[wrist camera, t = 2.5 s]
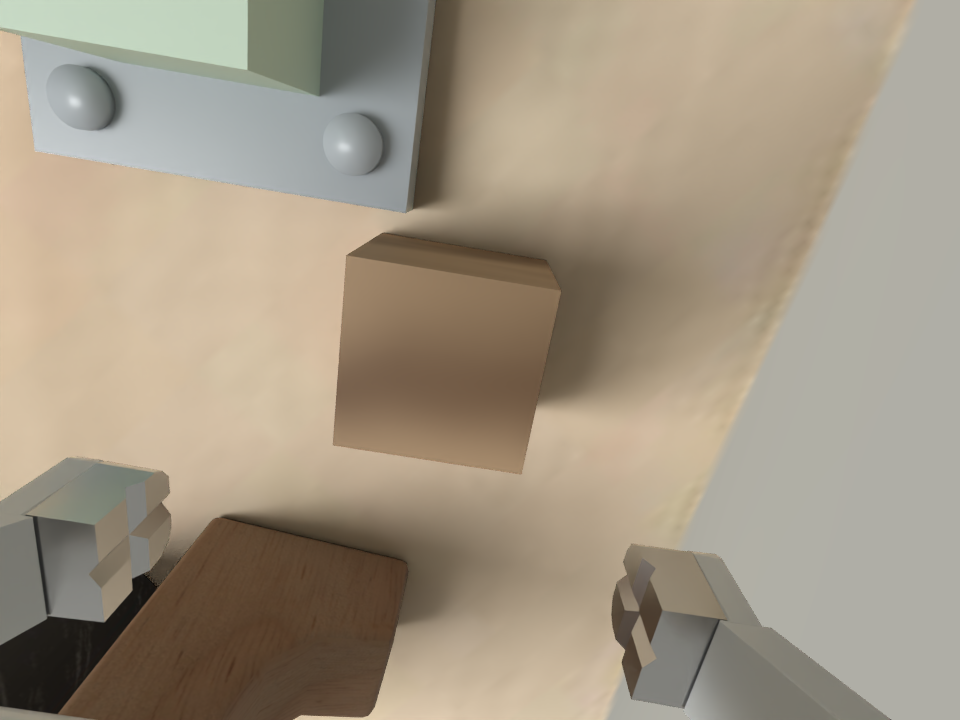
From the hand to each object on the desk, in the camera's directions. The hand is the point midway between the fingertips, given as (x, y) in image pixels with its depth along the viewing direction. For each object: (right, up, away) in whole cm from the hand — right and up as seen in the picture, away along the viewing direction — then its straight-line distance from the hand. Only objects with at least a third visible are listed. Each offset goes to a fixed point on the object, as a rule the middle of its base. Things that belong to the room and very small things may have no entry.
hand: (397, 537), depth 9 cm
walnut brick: (0, +5, +11) cm, 12 cm away
